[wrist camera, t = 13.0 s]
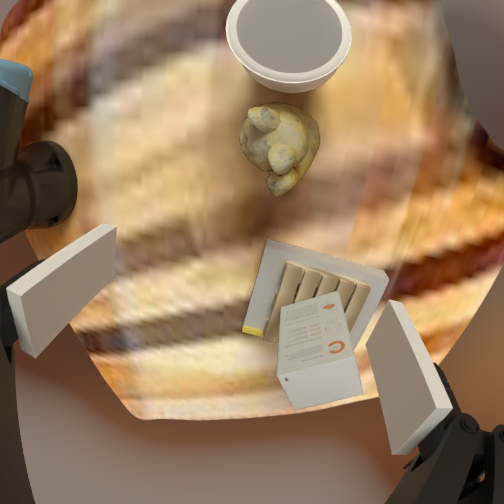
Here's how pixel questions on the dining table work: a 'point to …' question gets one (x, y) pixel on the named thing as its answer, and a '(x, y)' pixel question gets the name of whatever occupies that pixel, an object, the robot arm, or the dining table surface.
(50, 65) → the dining table surface
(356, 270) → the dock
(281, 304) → the pallet
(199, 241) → the dining table surface
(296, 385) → the small box
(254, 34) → the jar
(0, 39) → the dining table surface
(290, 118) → the decorative figurine
